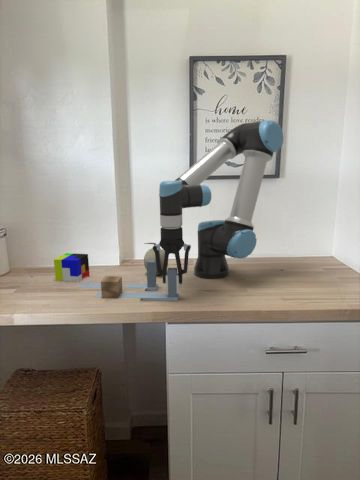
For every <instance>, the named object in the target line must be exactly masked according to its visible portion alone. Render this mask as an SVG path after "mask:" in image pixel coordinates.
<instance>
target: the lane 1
mask: <svg viewBox="0 0 360 480" xmlns="http://www.w3.org/2000/svg"><path fill="white" fill-rule="evenodd" d="M146 263H147V270H146V283H126V285H125V287H124V289H144V291H145V292H157V291H158V288H159V283H157V275H156V260H148V261H147V262H146Z"/></svg>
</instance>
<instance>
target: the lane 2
mask: <svg viewBox="0 0 360 480" xmlns="http://www.w3.org/2000/svg"><path fill="white" fill-rule="evenodd" d="M167 273H168V293H166V292H128V291H127V292H124V291H123V292H122V294H121V295H120V297H119V298H120V299H123V298H124V299H139V301H141V302H143V301H145V302H146V301H147V302H149V301H150V302H179V299H178V298H179V297H180V292H179V293H177V285H176V275H177V273H178V269H177V267H167ZM94 298H102V293H101V291H98V292H97V293H96V294H95V295H94ZM119 298H118V299H119Z"/></svg>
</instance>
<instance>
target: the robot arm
mask: <svg viewBox="0 0 360 480" xmlns="http://www.w3.org/2000/svg"><path fill="white" fill-rule="evenodd" d="M283 144H284V132H283V130H282V127H281V125H280V124H279V123H278V122H277V121H275V120H273V119H272V120H270V119H269V120H266V119H264V120H261V121H253V122H244V123H241V124H238V125H237V126H235V127H234V128H232V129H231V130H230V131H228V132H226V133H225V134H224V135H223V136H222V137H220V138H219V139H218V141H217V144H216V145H215V146H214V147H212V149H210V150H209V151H208V152H207V153H205V154H204V155H203V156H202V157H201V158H200V159H199V160H197V161H196V162H195V163H194V164H193V165H191V166H190V167H189V168H188V169H187V170H185V171H184V172H183V173H182V174H180V176H178V177H177V178H176V179H174V180H164V181H160V183H159V189H158V191H159V193H158V197H159V221H160V222H159V223H160V224H159V225H160V241H159V243H156V244H157V245H154V244H153V246H152V248H153V250H154V252H155V258H156V266H157V272H158V273H161V274H160V275H162V283H163V284H165V293H168V266H167V265H169V255H170V254H171V255H174V257H175V262H176V268H177V275H176V285H177V293H179V294H180V284H182V283H183V275H185V274H187V273H188V266H189V253H190V251H191V248H192V246H191V245H192V244H187V243H185V242H184V240H183V239H184V238H183V236H184V235H183V233H184V232H183V209H185V208H186V209H190V208H197V207H198V208H201V207H206V206H208V205H209V204H210V203H211V201H212V190H211V188H210V187H209V186H207V185H205V184H203V185H202V183H203V182H204V181H206V180H207V178H209V177H210V176H211V175H212V174H213V173H215V172H216V171H217V170H218V169H220V168H221V166H223V165H224V164H225V163H226V162H227V161H228V160H233V159H235V158H236V157H237V156H238V155H241V154H242V155H243V156H244V161H243V166H242V169H241V172H240V175H239V179H238V184H237V188H236V191H235V196H234V199H233V203H232V206H231V207H232V208H231V210H230V214H229V216H228V217H227V218H225V219H218V220H217V219H216V220H215V219H214V220H206V221H205V220H204V221H201V222H199V223H198V225H197V258H196V261H195V265H194V268H193V274H194V275H195V276H197V277H198V278H202V279H208V280H209V279H211V280H213V279H222V278H225V277H228V276H229V275H230V268H229V264H228V260H227V259H226V256H228V257H230V258H234V259H240V260H241V259H245V258H247V257H248V256H250V255H251V254H252V253H253V252H254V250H255V249H256V246H257V239H258V238H256V237H257V236H256V233H255V232H254V229H255V226H254V224H253V223H252V220H253V216H254V214H255V209H256V205H257V201H258V199H259V198H258V197H259V193H260V191H261V190H260V189H261V186H262V181H263V179H264V176H265V172H266V171H265V170H266V167H267V164H268V163H269V162H270V161H271V160H272V159H273V157H274V153H276V152H278V151H279V150H281V148H282V146H283ZM182 248H183V251H185V252H184V260H183V266H182V262H181V257H180V251H181V249H182ZM160 249H162V250H163V251H165V257H164V265H163V269H161V260H160V252H159V250H160ZM182 267H183V268H182Z"/></svg>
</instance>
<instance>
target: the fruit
mask: <svg viewBox="0 0 360 480" xmlns="http://www.w3.org/2000/svg"><path fill="white" fill-rule="evenodd" d="M144 244H145V245H153V246H154V245H157V244H158V243H156V242H146V243H145V242H144ZM159 252H160V260H161V269H163V265H164V257H165V251H164V250H163V249H162V248H160V250H159ZM148 260H156V258H155V252H154V250H153V247H152V248H150V249H148V250H147V251H146V252H145V254H144V257H143V264H144V268H145V270H146V271H147V263H146V262H147V261H148ZM168 265H169V264H168ZM168 265H167V267H168ZM158 275H162V274H161V273H158V272H157V266H156V276H158Z"/></svg>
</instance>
